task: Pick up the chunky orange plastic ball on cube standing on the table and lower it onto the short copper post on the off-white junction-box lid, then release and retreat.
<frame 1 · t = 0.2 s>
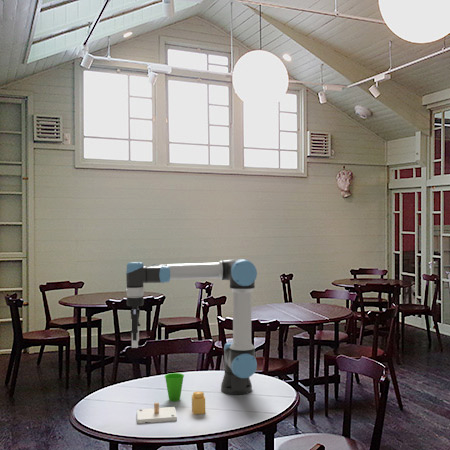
hand: (135, 344, 219), 28 cm above the table, fingers open, 13 cm apart
cup: (174, 399, 227), on the table
ball on cube: (198, 411, 211), on the table
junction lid: (156, 416, 206), on the table
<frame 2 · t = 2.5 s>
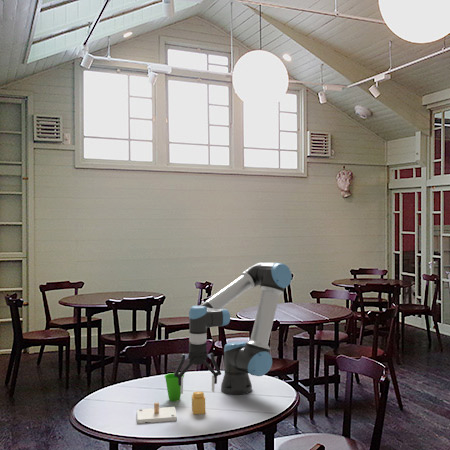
hand: (197, 392, 211), 8 cm above the table, fingers open, 13 cm apart
nothing on the table moved.
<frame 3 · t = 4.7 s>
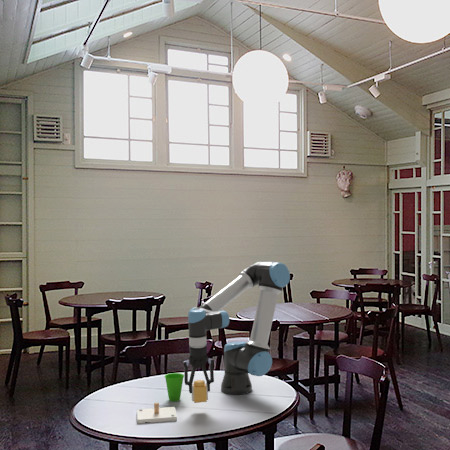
hand: (199, 399, 212), 5 cm above the table, fingers closed on ball on cube, 5 cm apart
ball on cube: (199, 400, 212), point 5 cm above the table, touching gripper
everything else where it was.
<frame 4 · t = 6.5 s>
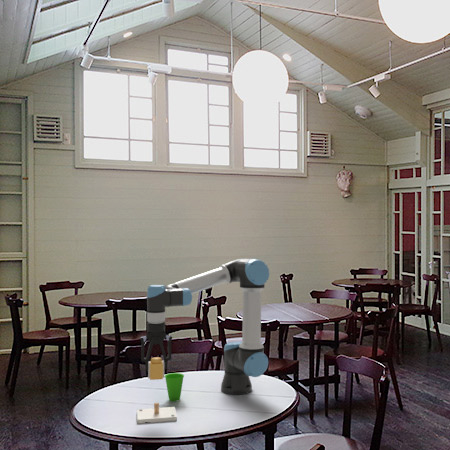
hand: (156, 377, 206), 17 cm above the table, fingers closed on ball on cube, 5 cm apart
ball on cube: (156, 377, 206), point 16 cm above the table, touching gripper
everything else where it was.
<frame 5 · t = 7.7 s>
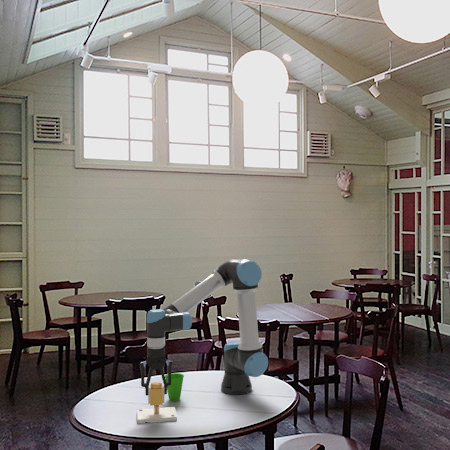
hand: (156, 402, 206), 6 cm above the table, fingers closed on ball on cube, 5 cm apart
ball on cube: (156, 402, 206), point 6 cm above the table, touching gripper
everything else where it was.
when the fingers open (2 cm above the table, at t = 8.7 s): ball on cube stays where it is, resting on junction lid.
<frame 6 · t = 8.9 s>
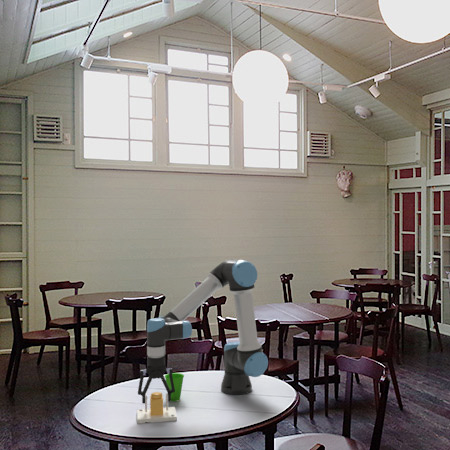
hand: (156, 410, 206), 3 cm above the table, fingers open, 8 cm apart
ball on cube: (156, 413, 206), point 1 cm above the table, touching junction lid
everything else where it was.
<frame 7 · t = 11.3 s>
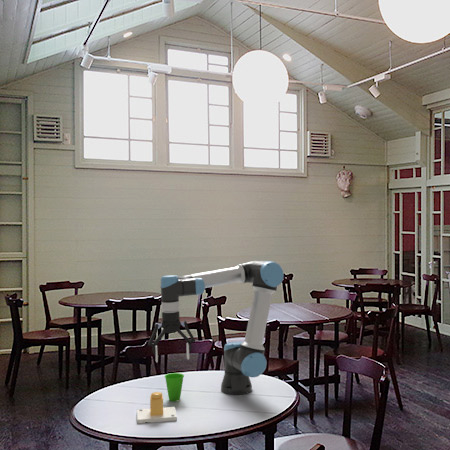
hand: (172, 360, 213), 22 cm above the table, fingers open, 13 cm apart
nothing on the table moved.
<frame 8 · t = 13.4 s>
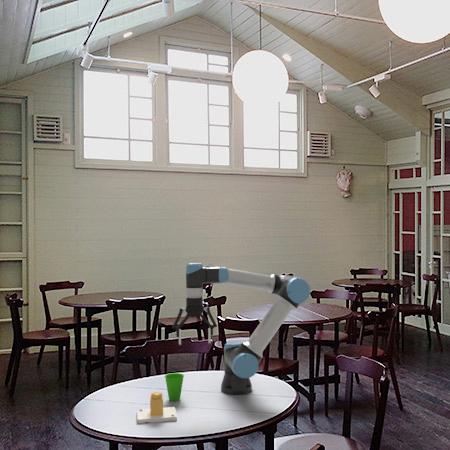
hand: (194, 343, 223), 27 cm above the table, fingers open, 13 cm apart
nothing on the table moved.
at the end: ball on cube 0.0 cm from the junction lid (horizontally); ball on cube point 1.5 cm above the table; the gripper is holding nothing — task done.
